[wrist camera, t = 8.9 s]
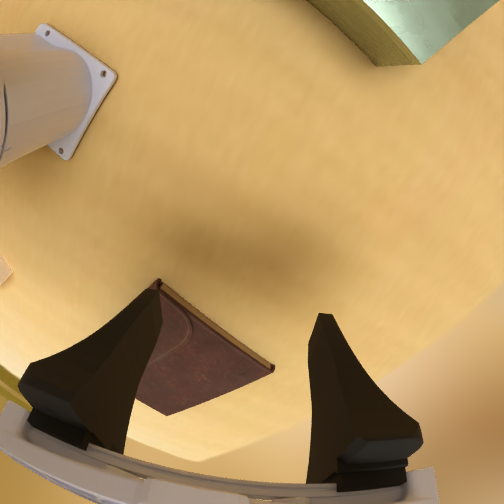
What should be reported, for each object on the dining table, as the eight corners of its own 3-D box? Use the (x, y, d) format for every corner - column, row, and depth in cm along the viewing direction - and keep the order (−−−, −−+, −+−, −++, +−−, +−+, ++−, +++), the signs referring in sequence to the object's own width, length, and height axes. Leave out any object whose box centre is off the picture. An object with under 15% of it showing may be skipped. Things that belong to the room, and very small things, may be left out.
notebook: (275, 362, 31) (274, 377, 29) (171, 408, 39) (167, 419, 38) (160, 274, 26) (152, 288, 24) (82, 350, 34) (76, 361, 33)
